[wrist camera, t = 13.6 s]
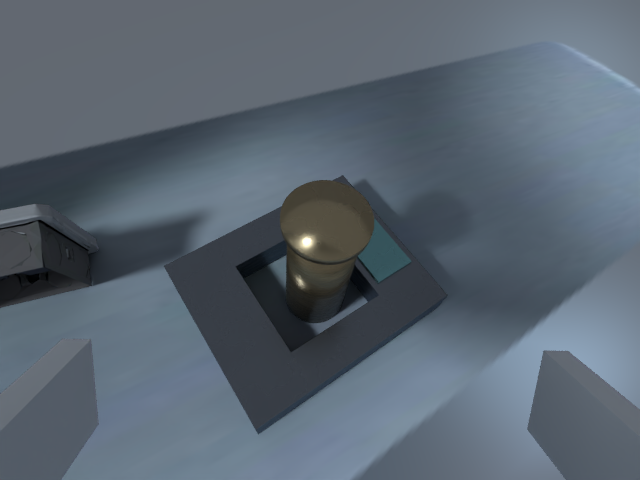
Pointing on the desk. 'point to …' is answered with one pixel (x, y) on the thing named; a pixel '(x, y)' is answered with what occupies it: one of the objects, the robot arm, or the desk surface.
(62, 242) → the electrical switch
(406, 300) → the rack plate
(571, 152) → the desk surface
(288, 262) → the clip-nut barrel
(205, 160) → the desk surface
